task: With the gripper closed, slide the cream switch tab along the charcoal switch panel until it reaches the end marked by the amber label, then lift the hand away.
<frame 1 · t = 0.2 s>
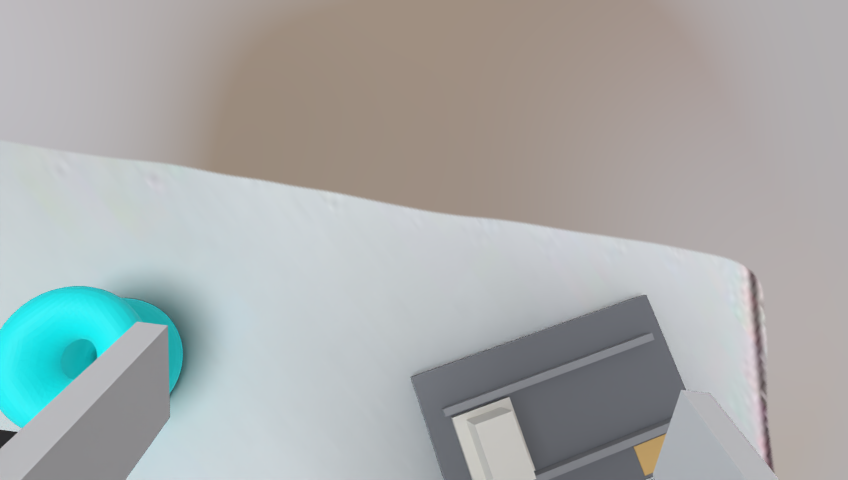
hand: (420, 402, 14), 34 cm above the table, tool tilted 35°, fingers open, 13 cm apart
switch tab: (498, 447, 43), point 4 cm above the table, slide at 0.0 cm
switch panel: (555, 413, 48), on the table
donuts: (126, 360, 46), on the table
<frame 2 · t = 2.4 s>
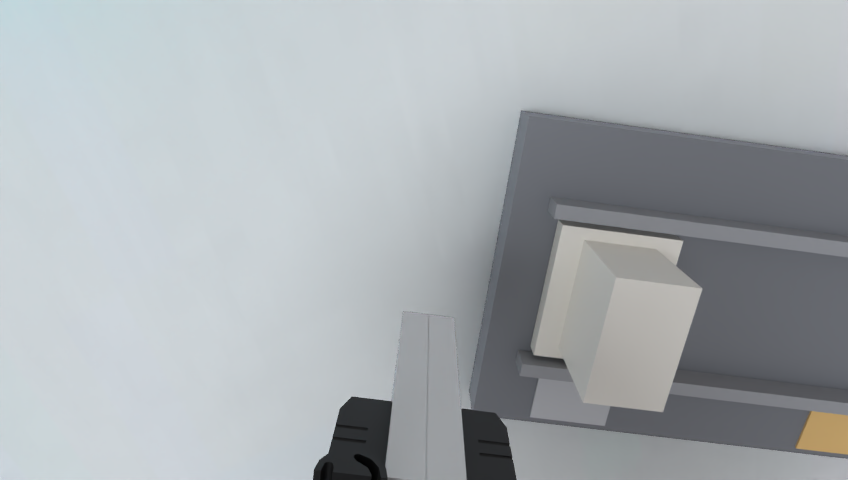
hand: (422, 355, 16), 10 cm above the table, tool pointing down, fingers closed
switch tab: (618, 317, 22), point 4 cm above the table, slide at 0.0 cm
switch panel: (721, 291, 26), on the table
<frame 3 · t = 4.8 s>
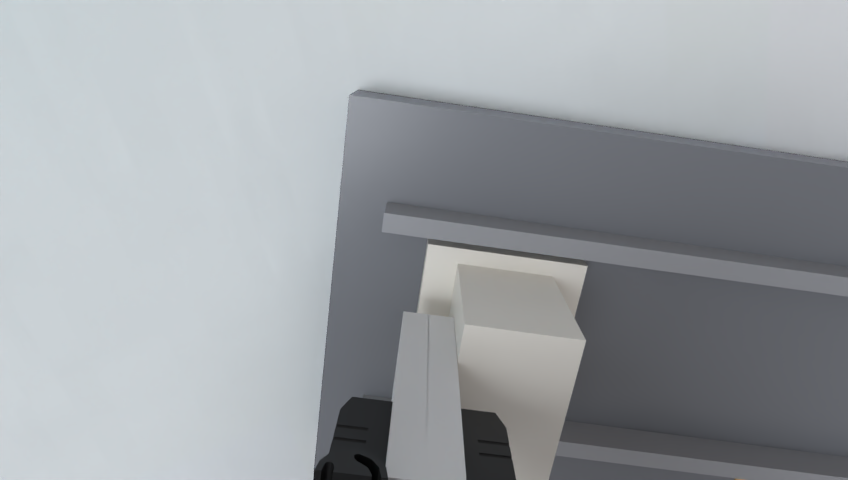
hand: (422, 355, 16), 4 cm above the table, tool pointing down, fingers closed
switch tab: (496, 367, 17), point 4 cm above the table, slide at 1.0 cm, touching gripper
switch panel: (628, 321, 21), on the table
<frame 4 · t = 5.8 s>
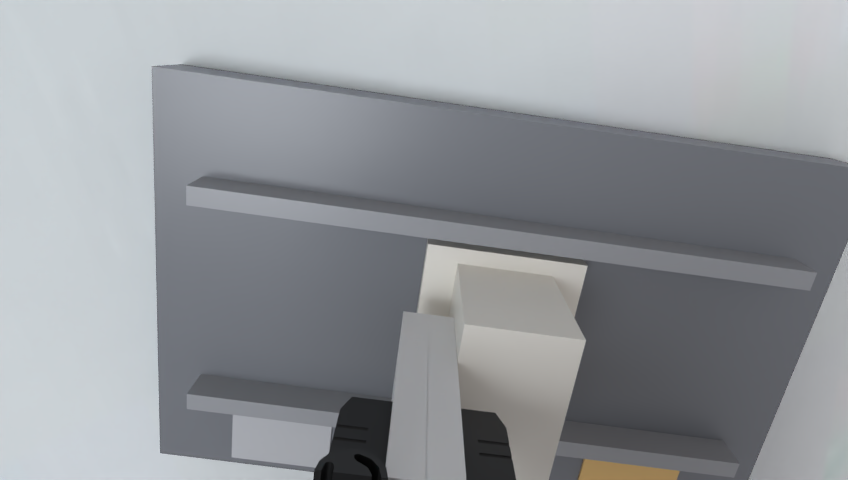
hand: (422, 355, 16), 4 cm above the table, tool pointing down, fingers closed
switch tab: (496, 366, 17), point 4 cm above the table, slide at 6.7 cm, touching gripper
switch panel: (477, 301, 21), on the table
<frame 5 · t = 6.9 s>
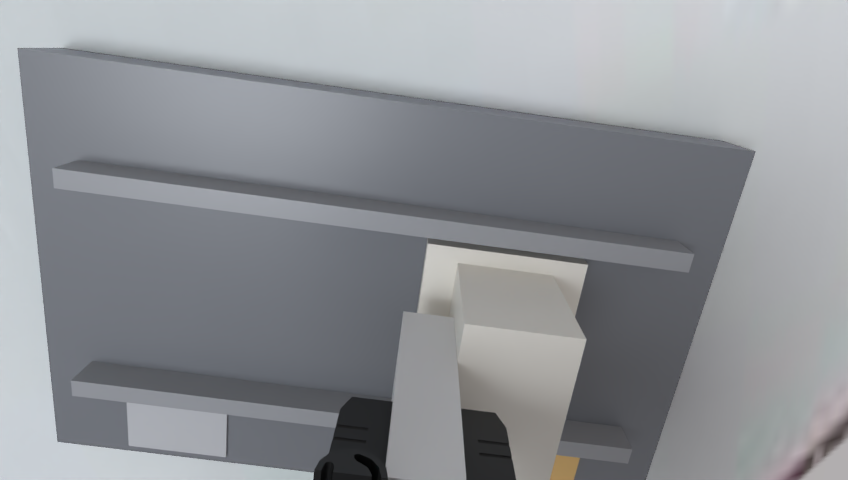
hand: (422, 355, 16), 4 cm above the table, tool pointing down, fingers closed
switch tab: (496, 366, 16), point 4 cm above the table, slide at 10.6 cm, touching gripper
switch panel: (375, 287, 21), on the table
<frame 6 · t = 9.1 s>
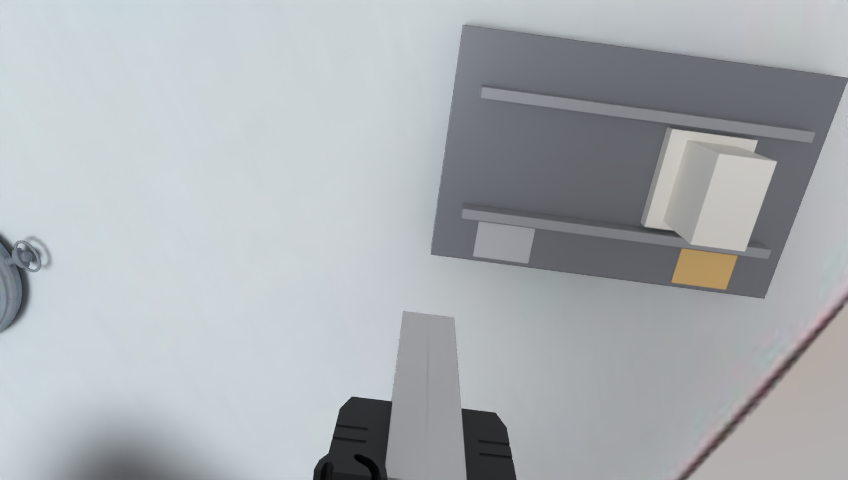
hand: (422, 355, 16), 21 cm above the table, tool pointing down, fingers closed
switch tab: (711, 192, 31), point 4 cm above the table, slide at 10.7 cm
switch panel: (616, 165, 35), on the table
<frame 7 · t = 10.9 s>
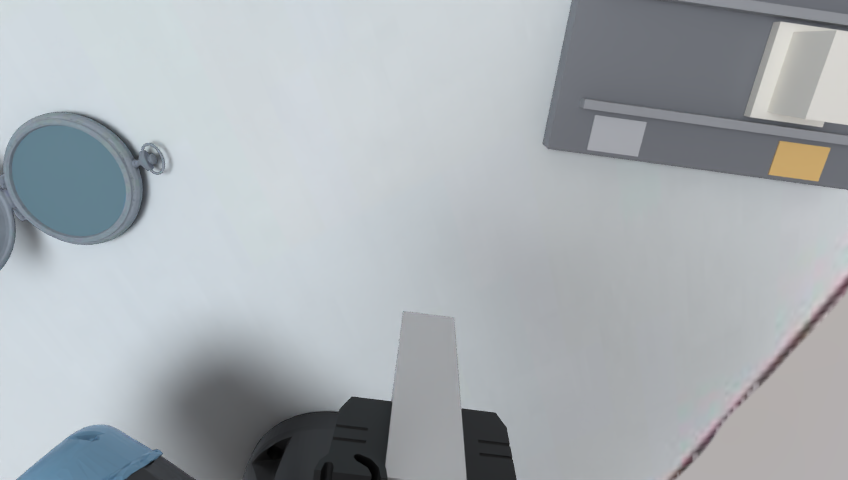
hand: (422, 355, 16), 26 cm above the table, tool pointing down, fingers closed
switch tab: (818, 77, 34), point 4 cm above the table, slide at 10.7 cm
switch panel: (718, 65, 39), on the table
pocket watch: (79, 178, 42), on the table
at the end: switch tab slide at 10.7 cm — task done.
